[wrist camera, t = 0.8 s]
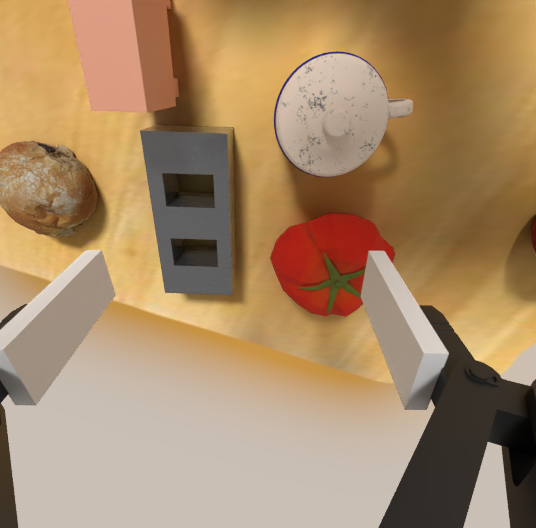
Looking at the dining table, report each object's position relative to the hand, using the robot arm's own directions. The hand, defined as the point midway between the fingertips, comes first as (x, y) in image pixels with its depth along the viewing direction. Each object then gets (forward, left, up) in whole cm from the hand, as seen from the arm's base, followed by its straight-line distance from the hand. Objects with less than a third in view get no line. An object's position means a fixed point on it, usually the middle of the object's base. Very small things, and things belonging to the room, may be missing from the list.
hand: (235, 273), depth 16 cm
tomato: (+10, +9, -23) cm, 26 cm away
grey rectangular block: (+5, -6, -23) cm, 24 cm away
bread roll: (+3, -23, -23) cm, 33 cm away
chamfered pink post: (-11, -9, -23) cm, 27 cm away
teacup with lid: (-6, +8, -23) cm, 25 cm away
